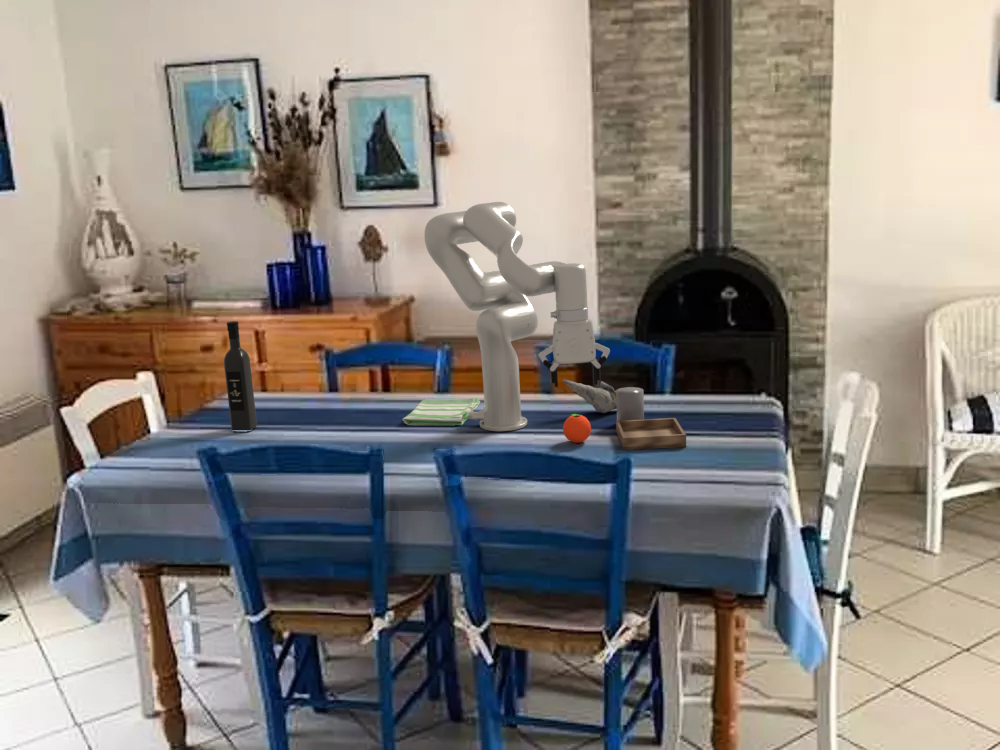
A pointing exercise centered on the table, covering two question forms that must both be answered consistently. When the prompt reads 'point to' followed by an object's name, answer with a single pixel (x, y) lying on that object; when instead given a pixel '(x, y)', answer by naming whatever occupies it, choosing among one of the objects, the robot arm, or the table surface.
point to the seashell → (596, 395)
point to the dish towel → (441, 412)
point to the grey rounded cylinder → (630, 403)
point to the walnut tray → (650, 434)
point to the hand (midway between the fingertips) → (575, 384)
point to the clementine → (577, 428)
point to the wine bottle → (239, 383)
